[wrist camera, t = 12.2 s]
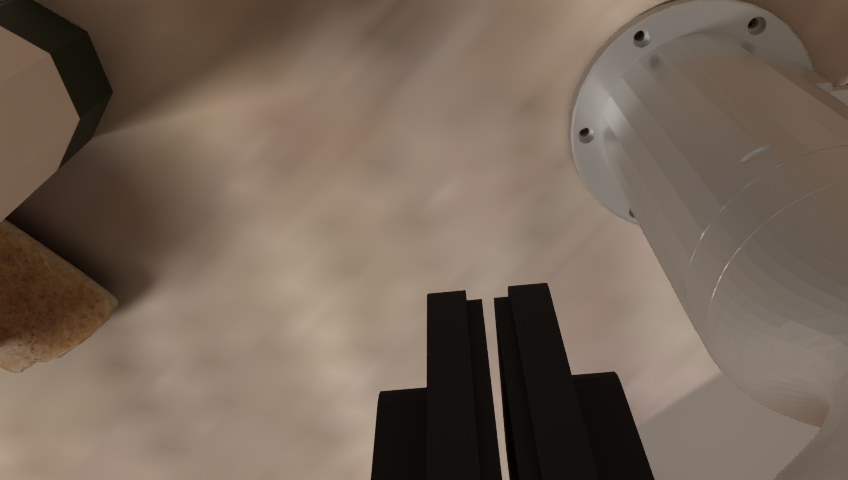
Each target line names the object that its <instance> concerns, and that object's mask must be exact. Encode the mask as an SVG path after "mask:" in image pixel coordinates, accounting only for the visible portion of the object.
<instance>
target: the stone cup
mask: <svg viewBox="0 0 848 480" xmlns="http://www.w3.org/2000/svg"><path fill="white" fill-rule="evenodd" d="M118 303H119V302H118V300H117V299H116V298H115V297H114V296H113V295H112V294H111V293H109V292H108V291H107V290H106V289H104V288H103V287H102V286H100V285H99V284H98V283H96V282H95V281H94V280H92V279H91V278H90V277H88V276H87V275H86V274H84V273H83V272H82V271H80V270H79V269H77V268H76V267H75V266H73V265H72V264H70V263H69V262H68V261H66V260H65V259H63V258H62V257H60V256H59V255H57V254H56V253H55V252H53V251H52V250H50V249H49V248H47V247H46V246H44V245H43V244H41V243H40V242H38V241H37V240H35V239H34V238H32V237H31V236H29V235H28V234H26V233H25V232H24V231H22V230H21V229H19V228H18V227H16V226H15V225H13V224H12V223H10V222H9V221H7V220H6V219H4V220H3V221H1V222H0V367H2V368H4V369H5V370H7V371H9V372H13V373H17V372H22V371H23V370H25V369H26V368H28V367H30V366H32V365H33V364H34V363H36V362H47V361H49V360H51V359H54V358H60V357H62V356H63V355H64V354H66V353H67V352H69V351H70V350H72V349H73V348H75V347H76V346H77V345H79V344H80V343H82V342H83V341H84V340H86V339H87V338H88V337H90V336H91V335H92V334H93V333H94V332H95V331H96V330H97V329H98V328H100V327H101V326H102V325H103V324H104V323H105V322H106V321H107V320H108V319H109V318H110V316H111V315H112V313H113V311H114V309H115V308H116V307H117V305H118Z"/></svg>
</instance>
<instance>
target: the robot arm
mask: <svg viewBox="0 0 848 480" xmlns="http://www.w3.org/2000/svg"><path fill="white" fill-rule="evenodd" d="M753 18H754V20H755V21H754V23H753V24H752V25H751V26H749V27H748V24H749V22H750V21H751V20H752V19H753ZM638 31H642V33H643V34H642V36H641V37H640V38H639V39H634V35H635V34H636V33H637V32H638ZM584 128H588V130H587V132H586V133H583V134H582V133H579V132H580V131H581V130H582V129H584ZM568 137H569V143H570V149H571V154H572V158H573V160H574V163H575V166H576V168H577V171H578V173H579V175H580V177H581V179H582V180H583V182H584V184H585V186H586V188H587V189H588V191H589V192H590V193H591V194H592V195H593V196H594V197H595V199H596V200H597V201H598V202H599V203H600V204H601V205H602V206H604V207H605V208H607V209H608V210H609V211H611V212H612V213H613V214H615V215H616V216H618V217H620V218H622V219H624V220H626V221H628V222H631V223H633V224H637V225H639V226H640V228H641V229H642V231H643V233H644V235H645V237H646V239H647V241H648V243H649V244H650V246H651V248H652V250H653V252H654V254H655V256H656V258H657V259H658V261H659V263H660V265H661V267H662V269H663V271H664V273H665V274H666V276H667V278H668V280H669V282H670V284H671V286H672V288H673V289H674V291H675V293H676V295H677V297H678V299H679V301H680V303H681V304H682V306H683V308H684V310H685V312H686V314H687V316H688V318H689V319H690V321H691V323H692V325H693V327H694V329H695V331H696V332H697V333H698V335H699V337H700V339H701V341H702V342H703V344H704V346H705V348H706V350H707V351H708V353H709V355H710V356H711V358H712V359H713V361H714V362H715V364H716V365H717V366H718V368H719V369H720V370H721V372H722V373H723V374H724V375H725V376H726V377H727V378H728V379H729V380H730V381H731V382H732V383H733V384H734V385H735V386H736V387H737V388H738V389H740V390H741V391H742V392H744V393H745V394H746V395H748V396H749V397H751V398H752V399H753V400H755V401H756V402H758V403H760V404H761V405H763V406H764V407H767V408H769V409H771V410H772V411H774V412H777V413H779V414H782V415H784V416H787V417H789V418H792V419H794V420H797V421H799V422H802V423H806V424H809V425H812V426H816V427H820V429H819V431H818V432H817V434H816V435H815V437H814V438H813V439H812V440H811V441H810V442H809V443H808V445H807V446H806V447H805V448H804V449H803V450H802V451H801V452H800V453H799V454H798V455H797V456H796V457H795V458H794V459H793V460H792V461H791V462H790V463H789V464H788V465H787V466H786V467H785V468H784V469H782V470H781V471H780V472H779V473H778V474H777V476H776V477H775V479H774V480H848V84H846V85H842V86H832V84H831V83H830V82H829V81H827V80H825V79H824V78H822V77H821V76H819V75H818V74H816V73H815V71H814V67H813V62H812V60H811V58H810V56H809V54H808V52H807V50H806V48H805V46H804V44H803V42H802V41H801V40H800V38H799V37H798V36H797V35H796V34H795V32H794V31H793V30H792V29H791V28H790V26H788V25H787V24H786V23H784V22H783V21H782V20H780V19H779V18H778V17H776V16H775V15H774V14H772V13H771V12H769V11H767V10H765V9H763V8H761V7H759V6H757V5H755V4H752V3H749V2H746V1H742V0H676V1H673V2H669V3H666V4H663V5H660V6H657V7H655V8H653V9H651V10H649V11H647V12H645V13H643V14H642V15H640V16H638V17H636V18H634V19H633V20H632V21H630V22H629V23H627V24H626V25H625V26H623V27H622V28H621V29H619V30H618V31H617V32H615V33H614V34H613V35H612V36H611V37H610V38H609V40H608V41H607V42H606V43H605V44H604V45H603V46H602V47H601V48H600V49H599V50H598V51H597V52H596V54H595V55H594V57H593V58H592V60H591V61H590V63H589V64H588V66H587V67H586V69H585V70H584V72H583V74H582V76H581V79H580V81H579V83H578V85H577V88H576V90H575V92H574V96H573V100H572V104H571V109H570V113H569V130H568ZM494 307H495V319H496V332H497V344H498V357H499V369H500V381H501V394H502V406H503V418H504V431H505V442H506V452H507V462H508V470H509V478H510V480H654V477H653V474H652V471H651V469H650V465H649V463H648V460H647V457H646V454H645V451H644V448H643V445H642V442H641V439H640V437H639V434H638V431H637V428H636V425H635V422H634V419H633V416H632V414H631V411H630V408H629V405H628V402H627V399H626V396H625V393H624V390H623V388H622V385H621V382H620V380H619V377H618V375H617V374H616V373H615V372H604V373H592V374H580V375H572V374H571V371H570V367H569V363H568V359H567V355H566V352H565V348H564V344H563V340H562V336H561V332H560V329H559V325H558V321H557V317H556V313H555V310H554V306H553V302H552V298H551V294H550V291H549V287H548V284H547V283H539V284H528V285H517V286H508V297H499V298H494ZM371 480H502V474H501V466H500V457H499V448H498V439H497V430H496V421H495V413H494V404H493V395H492V386H491V377H490V368H489V359H488V351H487V342H486V333H485V324H484V315H483V306H482V299H477V300H467V299H466V291H465V290H463V291H452V292H442V293H431V294H427V387H426V388H415V389H403V390H391V391H381V392H380V394H379V398H378V406H377V417H376V428H375V440H374V451H373V462H372V473H371Z"/></svg>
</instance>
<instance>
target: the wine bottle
mask: <svg viewBox="0 0 848 480" xmlns="http://www.w3.org/2000/svg"><path fill="white" fill-rule="evenodd" d="M112 92H113V91H112V89H111V86H110V84H109V82H108V79H107V77H106V75H105V72H104V70H103V68H102V65H101V63H100V61H99V58H98V56H97V54H96V51H95V49H94V47H93V44H92V42H91V40H90V37H89V35H88V33H87V32H86V31H85V30H83V29H81V28H80V27H78V26H76V25H74V24H73V23H71V22H69V21H67V20H66V19H64V18H62V17H61V16H59V15H57V14H55V13H54V12H52V11H50V10H48V9H47V8H45V7H43V6H42V5H40V4H38V3H36V2H35V1H33V0H6V1H1V2H0V222H1V221H3V220H4V219H5V218H6V217H7V216H8V215H9V214H10V213H11V212H12V211H13V210H15V209H16V208H17V207H18V206H19V205H20V204H21V203H22V202H23V201H24V200H25V199H27V198H28V197H29V196H30V195H31V194H32V193H33V192H34V191H35V190H36V189H37V188H39V187H40V186H41V185H42V184H43V183H44V182H45V181H46V180H47V179H48V178H49V177H50V176H52V175H53V174H54V173H55V172H56V171H57V170H58V169H59V168H60V167H61V166H62V165H64V164H65V163H66V162H67V161H68V160H69V159H70V158H71V157H72V156H73V155H74V154H76V153H77V152H78V151H79V150H80V149H81V148H82V147H83V146H84V145H85V144H86V143H88V142H89V141H90V140H91V138H92V136H93V134H94V132H95V129H96V127H97V125H98V123H99V121H100V119H101V116H102V114H103V112H104V110H105V108H106V106H107V103H108V101H109V99H110V97H111V95H112Z"/></svg>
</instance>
